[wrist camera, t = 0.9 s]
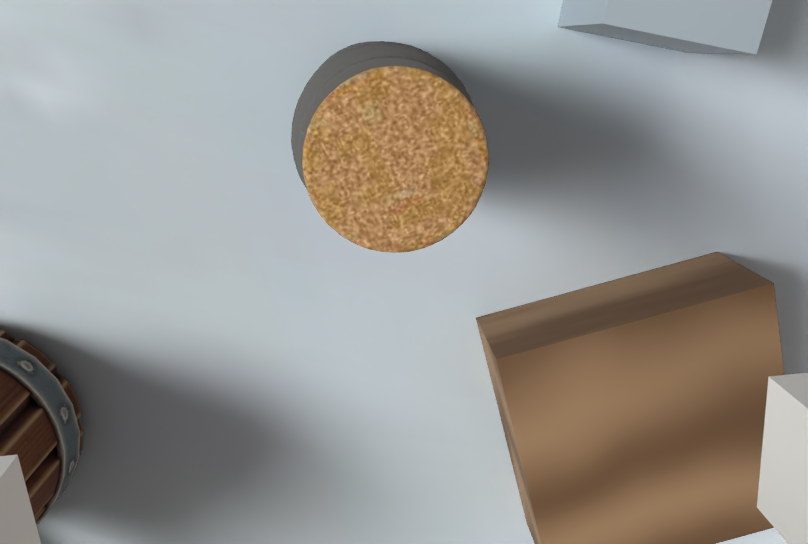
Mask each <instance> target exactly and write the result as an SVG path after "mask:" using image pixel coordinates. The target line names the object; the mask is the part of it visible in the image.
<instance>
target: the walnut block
mask: <svg viewBox="0 0 808 544" xmlns="http://www.w3.org/2000/svg"><path fill="white" fill-rule="evenodd" d="M476 320H477V324H478V328H479V332H480V336H481V340H482V344H483V348H484V352H485V356H486V360H487V364H488V368H489V372H490V376H491V380H492V384H493V388H494V392H495V396H496V400H497V404H498V408H499V412H500V416H501V420H502V424H503V428H504V432H505V436H506V441H507V445H508V449H509V453H510V457H511V461H512V465H513V469H514V473H515V477H516V481H517V485H518V489H519V493H520V497H521V501H522V505H523V509H524V513H525V517H526V521H527V525H528V527H529V530H530V532H531V535H532V537H533V540H534V543H535V544H716V543H719V542H723V541H726V540H730V539H734V538H737V537H741V536H745V535H748V534H752V533H756V532H759V531H763V530H767V529H770V528H774V527H773V526H772V524H771V523H770V522H769V521H768V520H767V519H766V517H765V516H764V515H763V514H762V513H761V512H760V511H759V509H758V508H757V499H758V488H759V477H760V466H761V455H762V444H763V433H764V422H765V411H766V400H767V389H768V378H769V376H779V375H784V367H783V359H782V350H781V342H780V333H779V324H778V316H777V307H776V299H775V290H774V283H772V282H770V281H769V280H767V279H765V278H763V277H761V276H760V275H758V274H756V273H754V272H752V271H751V270H749V269H747V268H745V267H743V266H742V265H740V264H738V263H736V262H734V261H733V260H731V259H729V258H727V257H725V256H724V255H722V254H720V253H718V252H715V253H711V254H708V255H704V256H700V257H697V258H693V259H689V260H686V261H682V262H678V263H675V264H671V265H667V266H664V267H660V268H656V269H653V270H649V271H646V272H642V273H638V274H635V275H631V276H627V277H624V278H620V279H616V280H613V281H609V282H605V283H602V284H598V285H594V286H591V287H587V288H584V289H580V290H576V291H573V292H569V293H565V294H562V295H558V296H554V297H551V298H547V299H543V300H540V301H536V302H532V303H529V304H525V305H521V306H518V307H514V308H511V309H507V310H503V311H500V312H496V313H492V314H489V315H485V316H481V317H478V318H476Z"/></svg>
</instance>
